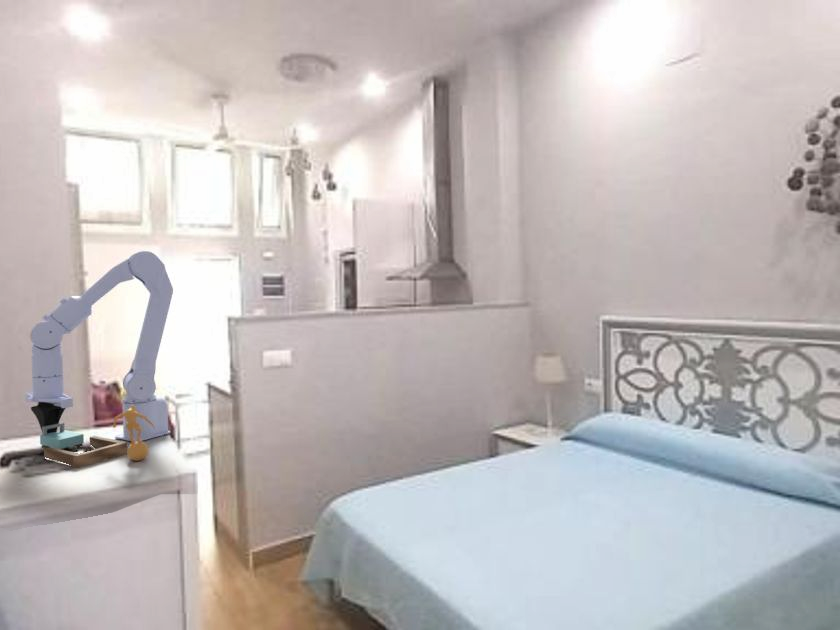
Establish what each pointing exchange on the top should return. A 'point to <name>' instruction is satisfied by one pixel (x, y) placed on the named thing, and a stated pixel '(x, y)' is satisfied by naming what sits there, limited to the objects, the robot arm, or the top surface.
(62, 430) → the mint block
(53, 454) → the dock
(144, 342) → the robot arm
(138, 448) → the figurine
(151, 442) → the top surface
